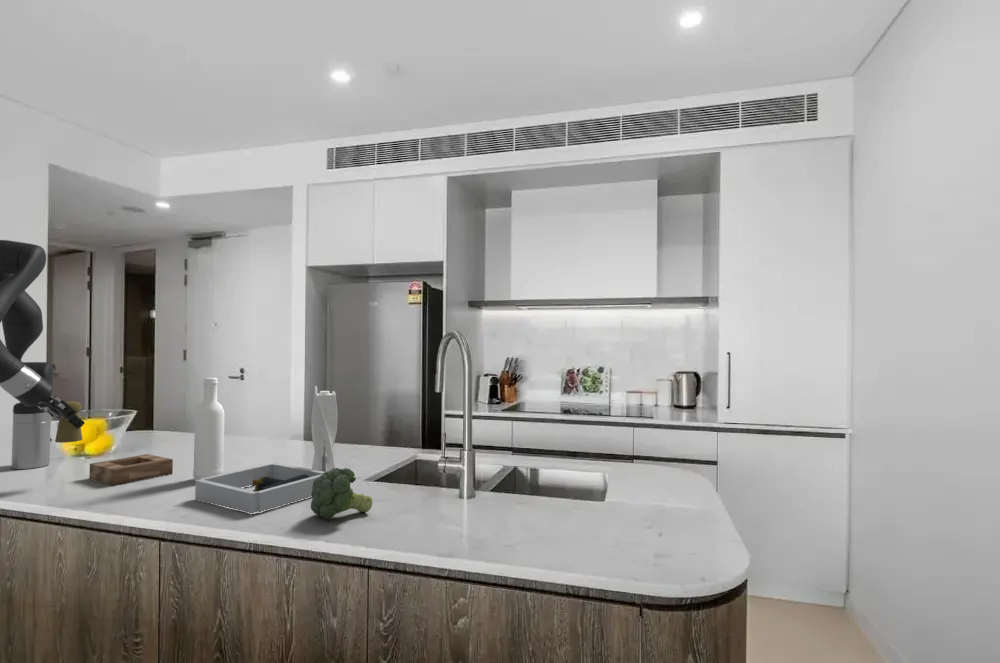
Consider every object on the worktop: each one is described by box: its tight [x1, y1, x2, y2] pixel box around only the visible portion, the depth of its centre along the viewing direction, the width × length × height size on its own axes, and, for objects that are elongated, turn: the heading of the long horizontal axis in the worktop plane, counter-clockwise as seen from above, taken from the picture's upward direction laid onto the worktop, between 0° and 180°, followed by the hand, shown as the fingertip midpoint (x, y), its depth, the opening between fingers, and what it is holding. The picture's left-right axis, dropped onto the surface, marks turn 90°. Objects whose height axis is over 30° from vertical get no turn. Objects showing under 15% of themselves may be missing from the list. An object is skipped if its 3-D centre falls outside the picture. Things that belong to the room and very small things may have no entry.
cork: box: [54, 400, 83, 444], centre depth 152 cm, size 6×6×11 cm
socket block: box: [88, 453, 174, 487], centre depth 162 cm, size 14×16×4 cm
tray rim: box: [194, 462, 324, 513], centre depth 144 cm, size 24×24×5 cm
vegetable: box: [310, 467, 373, 520], centre depth 128 cm, size 12×13×15 cm
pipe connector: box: [251, 474, 309, 492], centre depth 142 cm, size 12×5×15 cm
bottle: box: [192, 377, 225, 483], centre depth 160 cm, size 8×8×30 cm
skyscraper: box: [310, 385, 339, 472], centre depth 160 cm, size 8×8×28 cm
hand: (77, 424), depth 154 cm, fingers closed on cork, 4 cm apart
